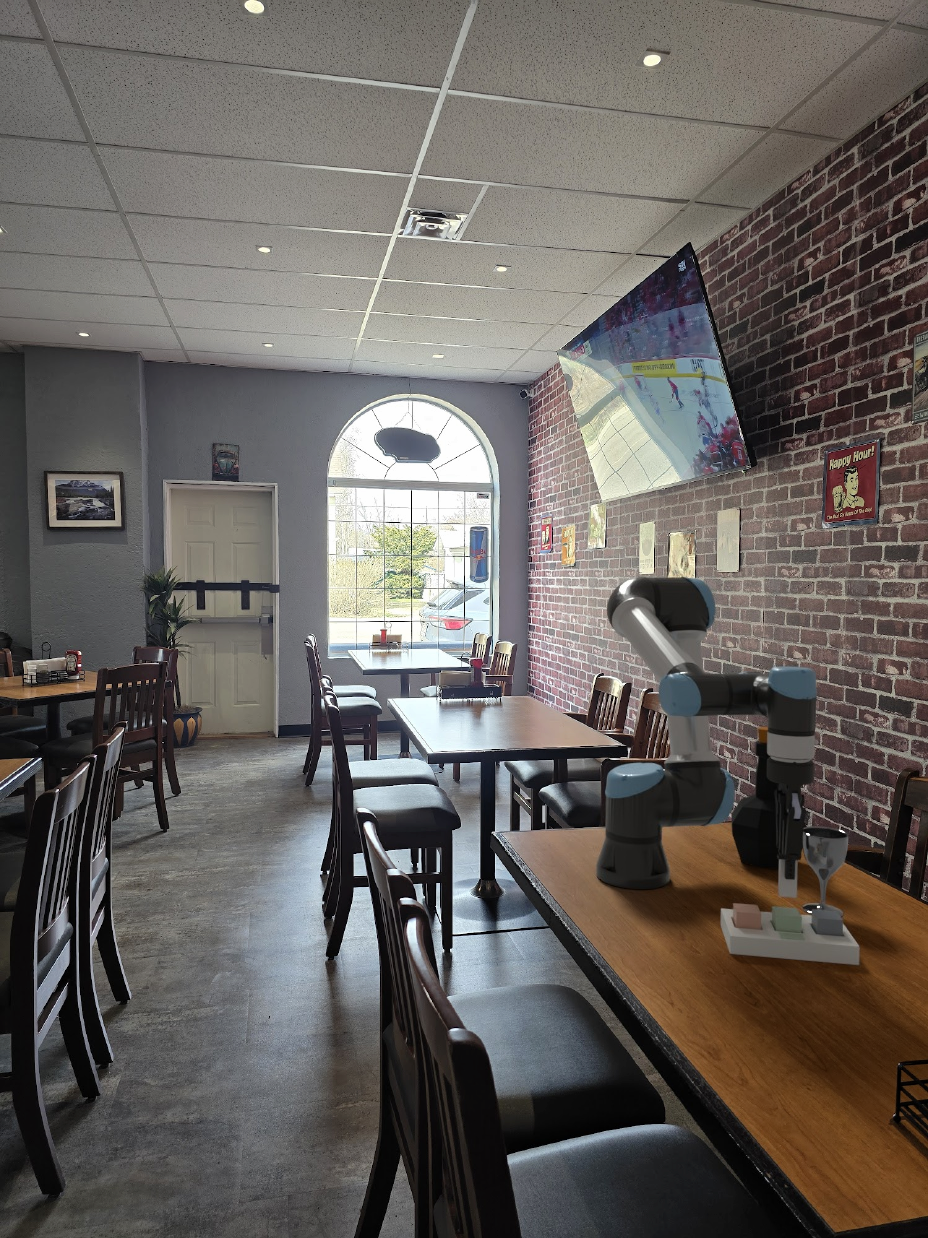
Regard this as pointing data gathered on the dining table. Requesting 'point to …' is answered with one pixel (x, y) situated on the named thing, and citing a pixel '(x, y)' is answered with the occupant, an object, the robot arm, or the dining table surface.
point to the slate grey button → (827, 922)
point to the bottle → (758, 816)
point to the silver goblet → (824, 858)
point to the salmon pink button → (746, 916)
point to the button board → (789, 941)
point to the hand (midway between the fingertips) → (787, 895)
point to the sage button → (786, 919)
